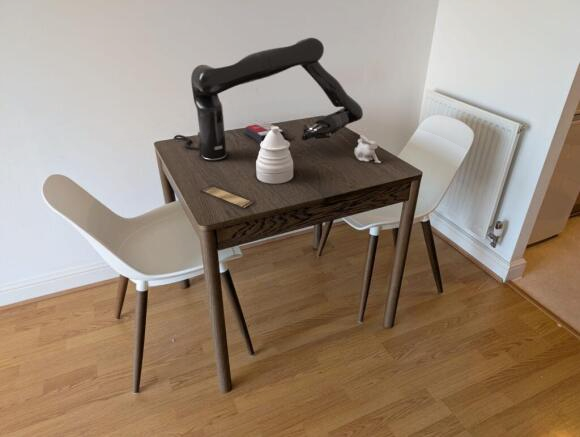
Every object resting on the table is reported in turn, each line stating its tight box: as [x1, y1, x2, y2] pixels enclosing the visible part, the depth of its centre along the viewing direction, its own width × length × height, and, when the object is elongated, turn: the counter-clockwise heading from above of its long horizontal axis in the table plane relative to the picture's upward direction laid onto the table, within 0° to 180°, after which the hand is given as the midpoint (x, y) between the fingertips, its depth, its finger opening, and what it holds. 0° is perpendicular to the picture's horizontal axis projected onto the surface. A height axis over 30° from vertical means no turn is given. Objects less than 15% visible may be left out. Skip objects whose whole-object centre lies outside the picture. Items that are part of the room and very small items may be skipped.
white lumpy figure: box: [354, 134, 382, 164], centre depth 158 cm, size 12×8×10 cm, turn 32°
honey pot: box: [255, 125, 294, 185], centre depth 144 cm, size 13×13×18 cm
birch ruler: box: [203, 185, 254, 209], centre depth 135 cm, size 18×4×1 cm, turn 53°
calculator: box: [245, 121, 286, 144], centre depth 180 cm, size 11×4×15 cm
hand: (303, 137), depth 156 cm, fingers closed
